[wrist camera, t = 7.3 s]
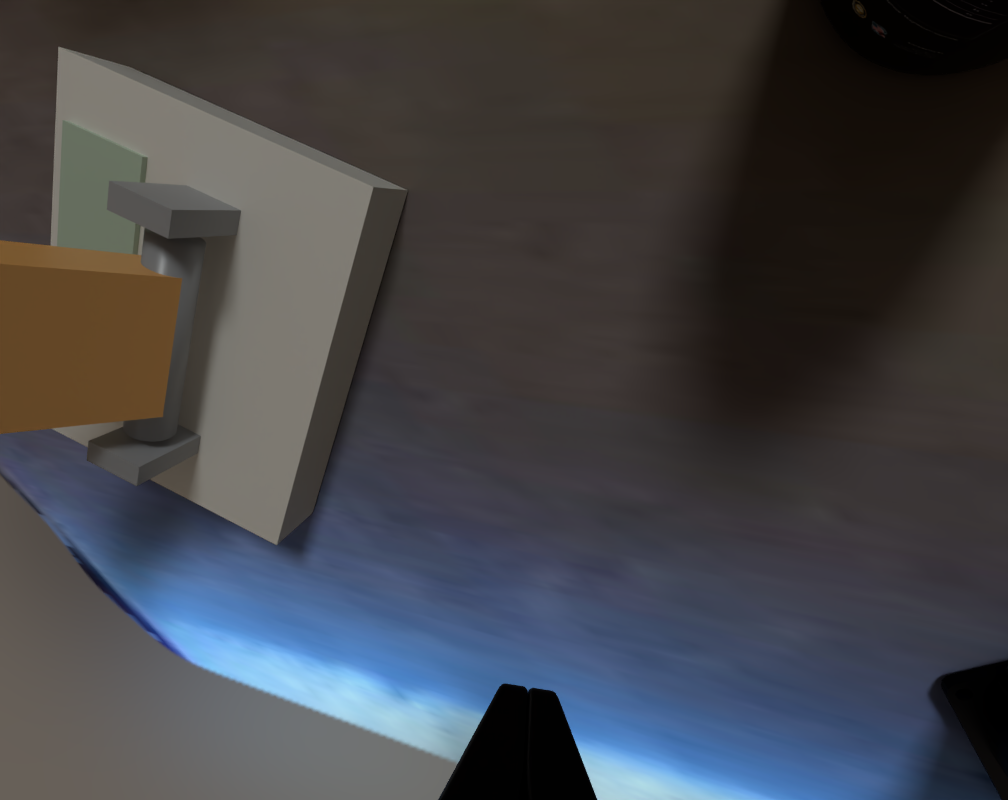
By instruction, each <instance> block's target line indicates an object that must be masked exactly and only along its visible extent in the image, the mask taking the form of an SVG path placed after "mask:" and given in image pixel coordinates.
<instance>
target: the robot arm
mask: <svg viewBox="0 0 1008 800" xmlns="http://www.w3.org/2000/svg"><path fill="white" fill-rule="evenodd" d="M941 687H942V690H943V692H944V693H945V695H946V697H947V699H948V701H949V703H950V705H951V706H952V708H953V710H954V712H955V714H956V716H957V718H958V719H959V721H960V723H961V725H962V727H963V729H964V731H965V732H966V734H967V736H968V738H969V740H970V742H971V744H972V745H973V747H974V749H975V751H976V753H977V755H978V757H979V758H980V760H981V762H982V764H983V766H984V768H985V770H986V771H987V773H988V775H989V777H990V779H991V781H992V783H993V784H994V786H995V788H996V790H997V792H998V794H999V796H1000V798H1001V799H1002V800H1008V661H1006V662H1002V663H997V664H993V665H989V666H985V667H980V668H976V669H972V670H968V671H963V672H959V673H955V674H951V675H949V676H946V677H945V678H944V679H943V680H942V683H941ZM960 689H964V690H961V691H957V690H960ZM438 800H597V798H596V795H595V793H594V790H593V788H592V785H591V782H590V780H589V777H588V774H587V772H586V769H585V767H584V764H583V761H582V759H581V756H580V753H579V751H578V748H577V746H576V743H575V740H574V738H573V735H572V733H571V730H570V727H569V725H568V722H567V719H566V717H565V714H564V712H563V709H562V706H561V704H560V701H559V699H558V697H557V695H556V693H555V692H553V691H550V690H543V689H537V688H531V689H530V690H529V691H527V689H526V688H525V687H523V686H518V685H511V684H502V685H501V686H500V687H499V689H498V690H497V692H496V694H495V696H494V698H493V700H492V701H491V703H490V705H489V707H488V709H487V711H486V712H485V714H484V716H483V718H482V720H481V722H480V724H479V725H478V727H477V729H476V731H475V733H474V735H473V737H472V738H471V740H470V742H469V744H468V746H467V748H466V749H465V751H464V753H463V755H462V757H461V759H460V761H459V762H458V764H457V766H456V768H455V770H454V772H453V774H452V775H451V777H450V779H449V781H448V783H447V785H446V787H445V788H444V791H443V792H442V794H441V796H440V798H439V799H438Z"/></svg>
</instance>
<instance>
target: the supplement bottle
mask: <svg viewBox="0 0 1008 800" xmlns="http://www.w3.org/2000/svg"><path fill="white" fill-rule="evenodd" d="M820 1H821V4H822V7H823V9H824V11H825V13H826V16H827V18H828V19H829V21H830V23H831V24H832V26H833V28H834V29H835V30H836V32H837V33H838V34H839V36H840V37H841V38H842V39H843V40H844V41H845V42H846V43H847V44H848V45H849V46H850V47H851V48H852V49H853V50H855V51H856V52H857V53H859V54H860V55H861V56H863V57H865V58H866V59H868V60H870V61H871V62H874V63H876V64H878V65H880V66H883V67H885V68H889V69H892V70H895V71H899V72H904V73H910V74H920V75H943V74H951V73H959V72H963V71H968V70H973V69H977V68H980V67H984V66H987V65H990V64H994V63H997V62H999V61H1002V60H1004V59H1007V58H1008V0H820Z"/></svg>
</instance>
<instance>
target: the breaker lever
mask: <svg viewBox="0 0 1008 800" xmlns="http://www.w3.org/2000/svg"><path fill="white" fill-rule="evenodd" d="M205 248H206V242H205V240H203V239H202V238H201V237H192V238H173V239H168V238H166V237H164V236H161V235H159V234H157V233H155V232H153V231H151V230H149V229H147V228H144V237H143V246H142V255H135V254H125V253H116V252H106V251H96V250H87V249H77V248H68V247H58V246H48V245H39V244H29V243H19V242H10V241H0V434H3V433H12V432H22V431H32V430H41V429H51V428H61V427H70V426H80V425H90V424H99V423H109V422H119V421H123V431H124V432H125V433H126V434H127V435H128V436H130V437H132V438H134V439H137V440H141V441H148V442H156V441H163V440H167V439H169V438H171V437H173V436H174V435H175V434H176V432H177V427H178V421H179V414H180V408H181V402H182V395H183V389H184V382H185V376H186V369H187V363H188V357H189V350H190V344H191V337H192V331H193V325H194V318H195V312H196V305H197V299H198V293H199V286H200V280H201V273H202V267H203V261H204V254H205Z"/></svg>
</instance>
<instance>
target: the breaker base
mask: <svg viewBox="0 0 1008 800" xmlns="http://www.w3.org/2000/svg"><path fill="white" fill-rule="evenodd" d="M407 192H408V190H406V189H404V188H401V187H399V186H397V185H395V184H392V183H390V182H388V181H386V180H383V179H381V178H379V177H377V176H374V175H372V174H370V173H368V172H365V171H363V170H361V169H359V168H356V167H354V166H352V165H350V164H347V163H345V162H343V161H341V160H338V159H336V158H334V157H332V156H329V155H327V154H325V153H323V152H320V151H318V150H316V149H314V148H311V147H309V146H307V145H305V144H302V143H300V142H298V141H296V140H293V139H291V138H289V137H286V136H284V135H282V134H280V133H277V132H275V131H273V130H271V129H268V128H266V127H264V126H262V125H259V124H257V123H255V122H253V121H250V120H248V119H246V118H244V117H241V116H239V115H237V114H235V113H232V112H230V111H228V110H226V109H223V108H221V107H219V106H217V105H214V104H212V103H210V102H208V101H205V100H203V99H201V98H199V97H196V96H194V95H192V94H190V93H187V92H185V91H183V90H181V89H178V88H176V87H174V86H172V85H169V84H167V83H165V82H163V81H160V80H158V79H156V78H153V77H151V76H149V75H147V74H144V73H142V72H140V71H138V70H135V69H133V68H131V67H128V66H125V65H121V64H118V63H114V62H111V61H107V60H104V59H100V58H97V57H93V56H90V55H86V54H83V53H79V52H76V51H72V50H69V49H65V48H62V47H59V48H58V74H57V99H56V124H55V149H54V174H53V200H52V225H51V246H58V247H68V248H77V249H87V250H96V251H106V252H116V253H125V254H135V255H142V246H143V237H144V228H147V229H149V230H151V231H153V232H155V233H157V234H159V235H161V236H164V237H166V238H168V239H173V238H192V237H201V238H202V239H203V240H205V242H206V248H205V254H204V261H203V267H202V273H201V280H200V286H199V293H198V299H197V305H196V312H195V318H194V325H193V331H192V337H191V344H190V350H189V357H188V363H187V369H186V376H185V382H184V389H183V395H182V402H181V408H180V414H179V421H178V427H177V432H176V434H175V435H174V436H173V437H171V438H169V439H167V440H163V441H156V442H148V441H141V440H137V439H134V438H132V437H130V436H128V435H127V434H126V433H125V432H124V431H123V421H119V422H109V423H99V424H90V425H80V426H70V427H61V428H52V429H54V430H55V431H57V432H59V433H61V434H63V435H65V436H67V437H69V438H71V439H73V440H75V441H77V442H79V443H81V444H82V445H84V446H86V447H88V452H87V461H89V462H91V463H93V464H95V465H97V466H99V467H101V468H103V469H105V470H107V471H108V472H110V473H112V474H114V475H116V476H118V477H120V478H122V479H124V480H126V481H128V482H130V483H132V484H133V485H135V486H138V485H140V484H142V483H144V482H146V481H147V480H149V479H150V480H152V481H154V482H156V483H158V484H160V485H162V486H163V487H165V488H167V489H169V490H171V491H173V492H175V493H177V494H179V495H181V496H183V497H185V498H187V499H189V500H190V501H192V502H194V503H196V504H198V505H200V506H202V507H204V508H206V509H208V510H210V511H212V512H214V513H216V514H217V515H219V516H221V517H223V518H225V519H227V520H229V521H231V522H233V523H235V524H237V525H239V526H241V527H242V528H244V529H246V530H248V531H250V532H252V533H254V534H256V535H258V536H260V537H262V538H264V539H266V540H268V541H269V542H271V543H273V544H275V545H278V544H279V543H280V542H281V541H282V540H283V539H284V538H285V537H286V536H288V535H289V534H290V533H291V532H292V531H293V530H294V529H295V528H296V527H297V526H299V525H300V524H301V523H302V522H303V521H304V520H305V519H306V518H307V517H308V516H310V515H311V514H312V513H313V510H314V507H315V503H316V500H317V496H318V493H319V490H320V486H321V483H322V480H323V476H324V473H325V469H326V466H327V463H328V459H329V456H330V453H331V449H332V446H333V442H334V439H335V436H336V432H337V429H338V425H339V422H340V419H341V415H342V412H343V409H344V405H345V402H346V398H347V395H348V392H349V388H350V385H351V381H352V378H353V375H354V371H355V368H356V365H357V361H358V358H359V354H360V351H361V348H362V344H363V341H364V338H365V334H366V331H367V327H368V324H369V321H370V317H371V314H372V310H373V307H374V304H375V300H376V297H377V294H378V290H379V287H380V283H381V280H382V277H383V273H384V270H385V266H386V263H387V260H388V256H389V253H390V250H391V246H392V243H393V239H394V236H395V233H396V229H397V226H398V223H399V219H400V216H401V212H402V209H403V206H404V202H405V199H406V195H407Z"/></svg>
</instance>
